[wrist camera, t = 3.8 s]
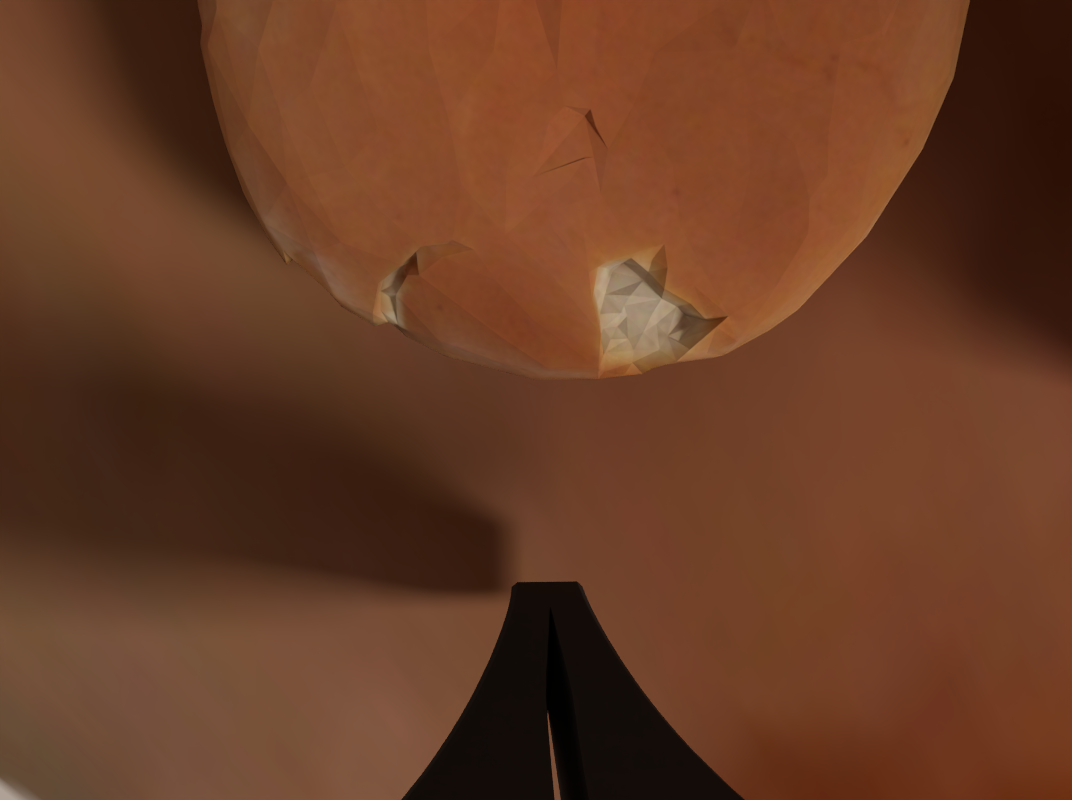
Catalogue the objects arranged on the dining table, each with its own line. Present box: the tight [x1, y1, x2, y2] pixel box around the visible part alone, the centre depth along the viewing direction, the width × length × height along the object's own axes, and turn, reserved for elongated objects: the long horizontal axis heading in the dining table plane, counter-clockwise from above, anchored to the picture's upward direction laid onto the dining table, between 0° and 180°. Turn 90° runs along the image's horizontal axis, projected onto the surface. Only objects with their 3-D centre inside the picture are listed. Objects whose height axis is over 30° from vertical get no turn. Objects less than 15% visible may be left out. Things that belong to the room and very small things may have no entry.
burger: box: [198, 0, 970, 380], centre depth 9 cm, size 10×9×5 cm
